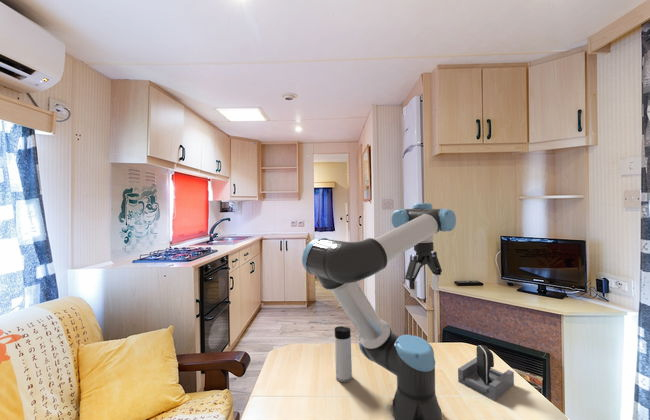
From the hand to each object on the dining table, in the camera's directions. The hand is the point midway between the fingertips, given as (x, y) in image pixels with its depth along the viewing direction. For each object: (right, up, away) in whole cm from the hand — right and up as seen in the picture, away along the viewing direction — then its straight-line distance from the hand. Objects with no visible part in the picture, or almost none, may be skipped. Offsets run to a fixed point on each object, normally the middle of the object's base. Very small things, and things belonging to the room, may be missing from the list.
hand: (424, 293), depth 115 cm
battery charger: (+19, -29, -10) cm, 36 cm away
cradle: (+19, -30, -10) cm, 37 cm away
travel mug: (-33, -32, -4) cm, 46 cm away
